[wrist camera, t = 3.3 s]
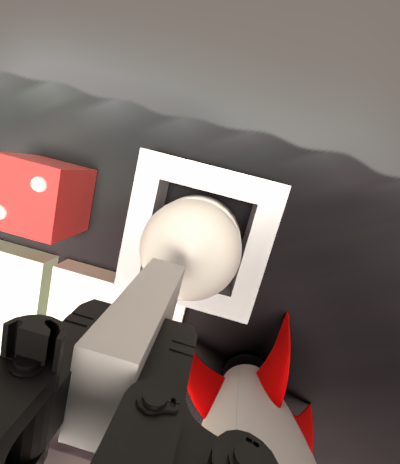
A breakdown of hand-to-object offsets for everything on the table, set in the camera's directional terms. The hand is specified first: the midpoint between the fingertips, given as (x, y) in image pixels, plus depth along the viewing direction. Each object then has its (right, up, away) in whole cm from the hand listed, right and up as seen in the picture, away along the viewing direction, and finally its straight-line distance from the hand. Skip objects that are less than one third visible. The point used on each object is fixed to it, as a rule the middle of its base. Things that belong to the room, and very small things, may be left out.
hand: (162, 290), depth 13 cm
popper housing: (+2, +3, +14) cm, 15 cm away
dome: (+1, +2, +12) cm, 12 cm away
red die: (-12, +6, +15) cm, 20 cm away
